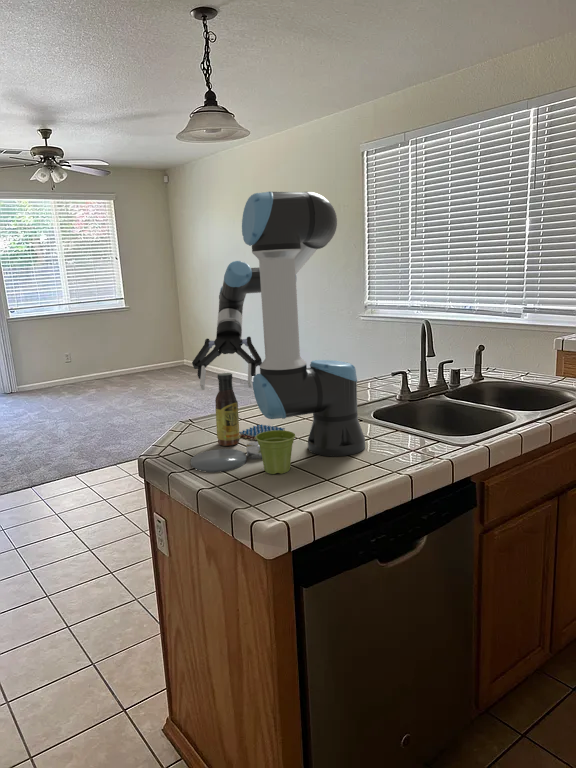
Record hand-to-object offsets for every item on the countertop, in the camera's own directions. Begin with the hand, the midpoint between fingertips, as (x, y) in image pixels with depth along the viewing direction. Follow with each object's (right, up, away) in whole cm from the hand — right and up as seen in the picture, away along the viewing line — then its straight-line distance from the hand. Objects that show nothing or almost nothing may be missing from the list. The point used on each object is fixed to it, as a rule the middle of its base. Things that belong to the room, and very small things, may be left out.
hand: (225, 386), depth 160 cm
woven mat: (+10, -15, +5) cm, 19 cm away
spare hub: (+10, -18, -13) cm, 24 cm away
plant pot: (+15, -20, -25) cm, 35 cm away
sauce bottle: (+1, -16, -2) cm, 16 cm away
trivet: (0, -19, -17) cm, 26 cm away
